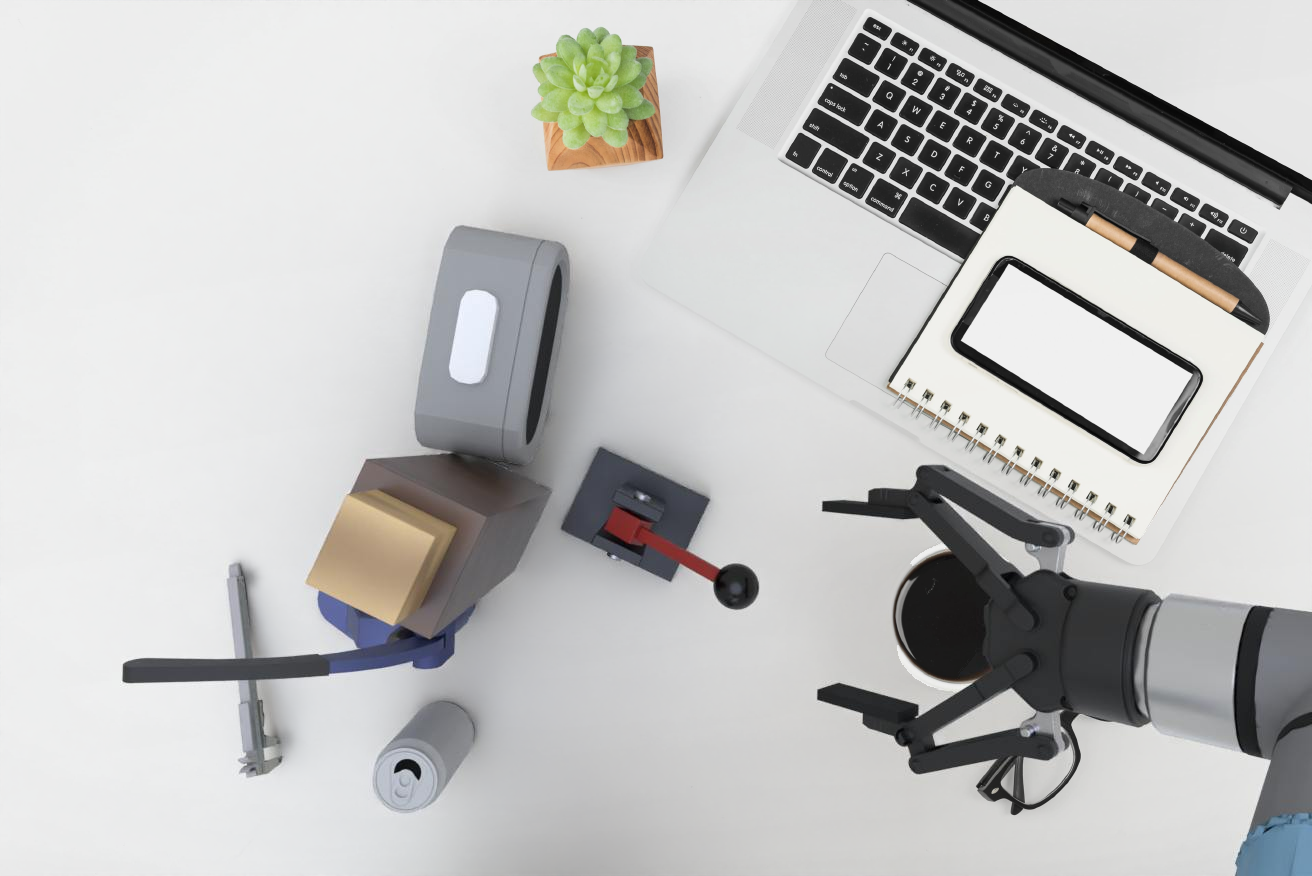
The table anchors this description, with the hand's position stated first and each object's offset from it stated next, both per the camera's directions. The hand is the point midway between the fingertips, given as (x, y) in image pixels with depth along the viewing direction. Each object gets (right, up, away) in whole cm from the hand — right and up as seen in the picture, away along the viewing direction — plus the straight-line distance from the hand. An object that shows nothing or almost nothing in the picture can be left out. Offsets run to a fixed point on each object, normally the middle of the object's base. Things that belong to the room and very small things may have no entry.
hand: (829, 598), depth 61 cm
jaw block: (-30, +4, -6) cm, 31 cm away
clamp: (-39, -4, +23) cm, 45 cm away
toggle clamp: (-15, +4, +22) cm, 27 cm away
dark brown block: (-29, +4, +22) cm, 37 cm away
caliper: (-53, -11, +23) cm, 59 cm away
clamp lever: (-10, +2, +8) cm, 13 cm away
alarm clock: (-27, +20, +22) cm, 40 cm away
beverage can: (-34, -18, +22) cm, 44 cm away
